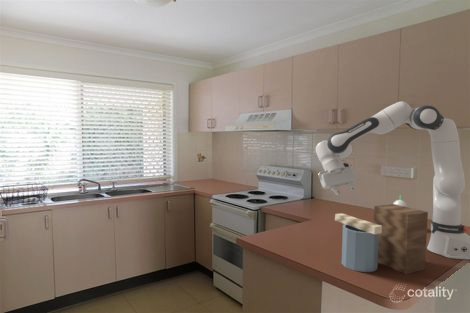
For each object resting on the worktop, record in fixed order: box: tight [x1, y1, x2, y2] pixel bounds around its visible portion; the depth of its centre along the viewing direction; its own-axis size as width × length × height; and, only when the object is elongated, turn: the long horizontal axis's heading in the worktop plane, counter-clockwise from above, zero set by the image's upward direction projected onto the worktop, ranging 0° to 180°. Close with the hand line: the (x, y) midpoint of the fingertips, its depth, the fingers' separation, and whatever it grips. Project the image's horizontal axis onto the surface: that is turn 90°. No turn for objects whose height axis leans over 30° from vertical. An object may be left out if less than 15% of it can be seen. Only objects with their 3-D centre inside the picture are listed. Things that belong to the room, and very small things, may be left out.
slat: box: [334, 212, 382, 234], centre depth 132 cm, size 22×4×3 cm, turn 24°
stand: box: [373, 203, 429, 275], centre depth 131 cm, size 16×12×24 cm
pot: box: [341, 224, 379, 273], centre depth 130 cm, size 14×14×16 cm
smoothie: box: [392, 194, 409, 208], centre depth 185 cm, size 8×8×20 cm
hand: (345, 192), depth 153 cm, fingers open, 8 cm apart
